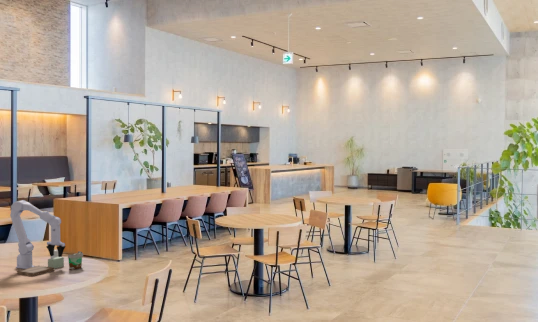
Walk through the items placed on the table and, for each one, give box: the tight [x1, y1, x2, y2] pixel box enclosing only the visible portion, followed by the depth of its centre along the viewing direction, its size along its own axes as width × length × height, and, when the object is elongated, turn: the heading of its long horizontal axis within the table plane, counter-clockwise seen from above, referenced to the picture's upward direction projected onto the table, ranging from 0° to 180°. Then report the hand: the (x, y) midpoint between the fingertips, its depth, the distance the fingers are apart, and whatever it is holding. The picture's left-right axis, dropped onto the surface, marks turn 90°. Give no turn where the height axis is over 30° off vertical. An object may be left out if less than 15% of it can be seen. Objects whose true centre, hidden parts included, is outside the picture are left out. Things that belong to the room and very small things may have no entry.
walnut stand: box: [16, 265, 55, 277], centre depth 333 cm, size 14×16×2 cm
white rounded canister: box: [49, 249, 59, 259], centre depth 362 cm, size 6×6×8 cm
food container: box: [67, 251, 84, 271], centre depth 343 cm, size 12×6×10 cm, turn 168°
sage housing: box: [47, 256, 65, 270], centre depth 347 cm, size 5×10×6 cm, turn 155°
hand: (56, 256), depth 347 cm, fingers open, 7 cm apart
